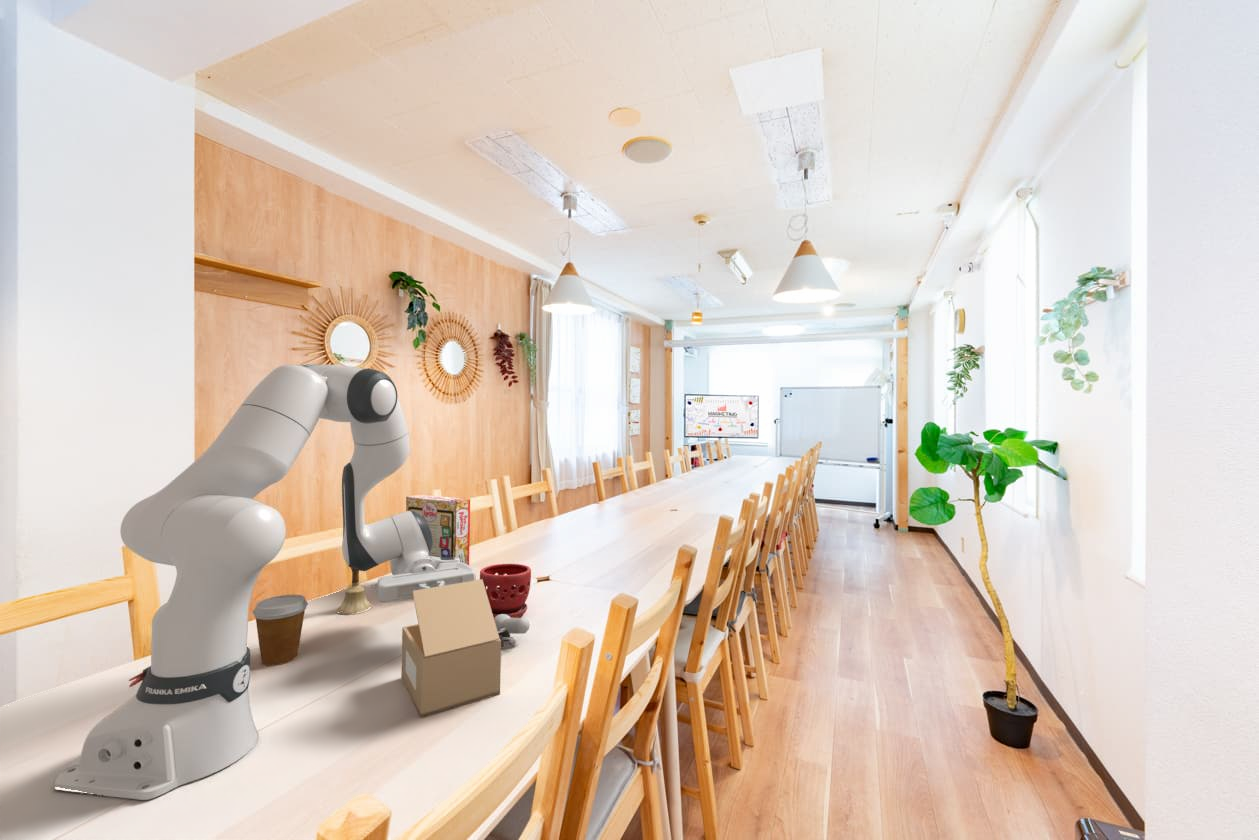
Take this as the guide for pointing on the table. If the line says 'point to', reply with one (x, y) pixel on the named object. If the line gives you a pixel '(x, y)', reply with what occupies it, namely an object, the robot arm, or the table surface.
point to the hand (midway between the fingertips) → (436, 593)
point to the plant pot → (507, 588)
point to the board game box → (445, 524)
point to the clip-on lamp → (510, 627)
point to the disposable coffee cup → (279, 627)
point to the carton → (448, 674)
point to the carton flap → (454, 617)
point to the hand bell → (354, 597)
